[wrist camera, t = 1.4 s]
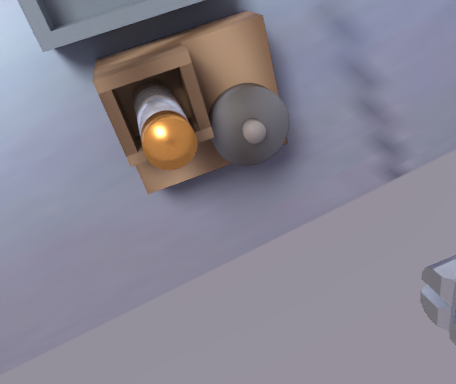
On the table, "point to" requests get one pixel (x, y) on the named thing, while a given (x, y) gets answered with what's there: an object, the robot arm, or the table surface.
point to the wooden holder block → (201, 95)
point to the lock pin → (163, 126)
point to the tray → (88, 17)
